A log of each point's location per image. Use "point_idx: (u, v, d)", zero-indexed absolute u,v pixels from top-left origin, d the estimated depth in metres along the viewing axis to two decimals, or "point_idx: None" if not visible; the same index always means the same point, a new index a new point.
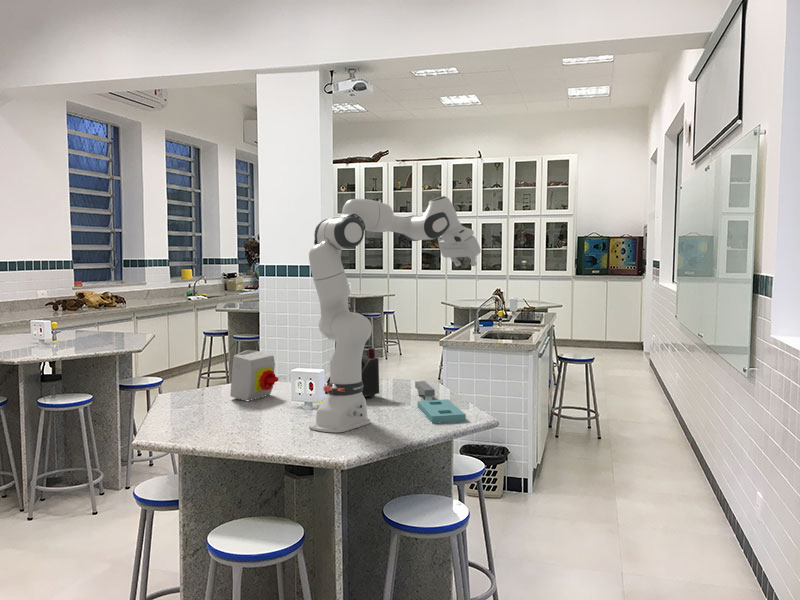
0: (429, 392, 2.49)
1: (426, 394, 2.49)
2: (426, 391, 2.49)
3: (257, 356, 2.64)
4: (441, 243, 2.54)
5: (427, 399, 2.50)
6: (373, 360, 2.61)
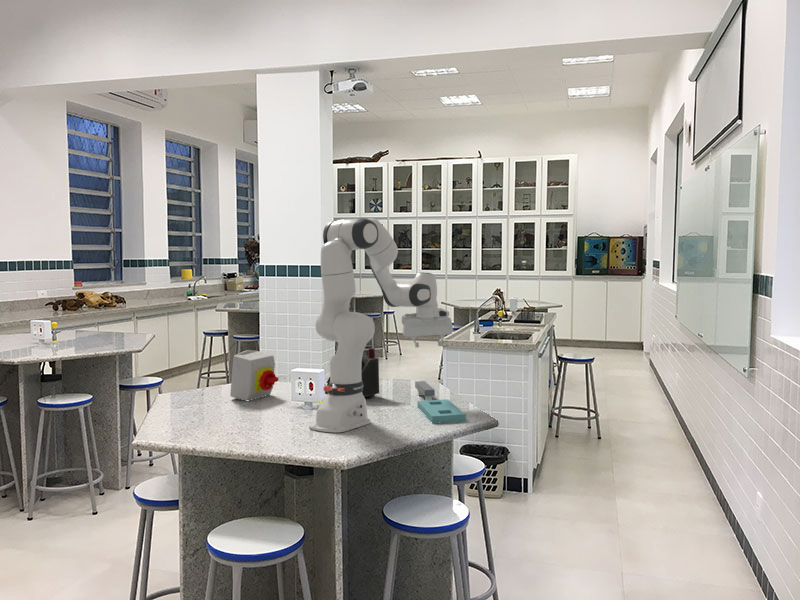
0: (429, 392, 2.49)
1: (426, 394, 2.49)
2: (426, 391, 2.49)
3: (257, 356, 2.64)
4: (410, 320, 2.54)
5: (427, 399, 2.50)
6: (373, 360, 2.61)
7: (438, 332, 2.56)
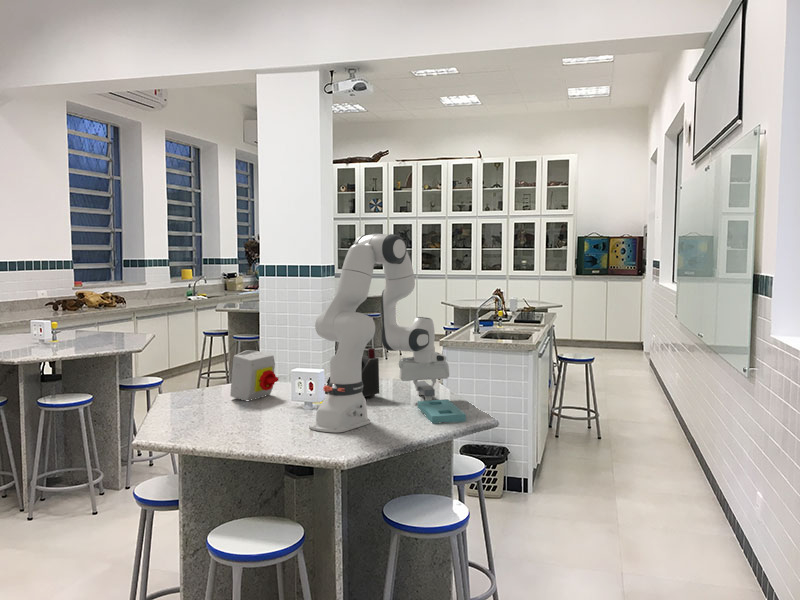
0: (429, 392, 2.49)
1: (426, 394, 2.49)
2: (426, 391, 2.49)
3: (257, 356, 2.64)
4: (407, 364, 2.54)
5: (427, 399, 2.50)
6: (373, 360, 2.61)
7: (435, 376, 2.57)
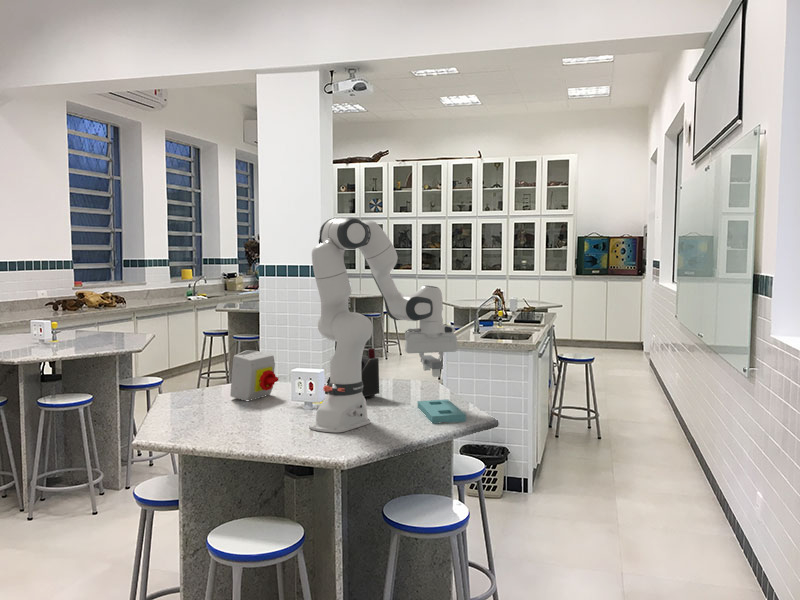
0: (437, 365, 2.34)
1: (433, 367, 2.34)
2: (434, 363, 2.34)
3: (257, 356, 2.64)
4: (414, 335, 2.39)
5: (434, 372, 2.35)
6: (373, 360, 2.61)
7: (442, 349, 2.42)
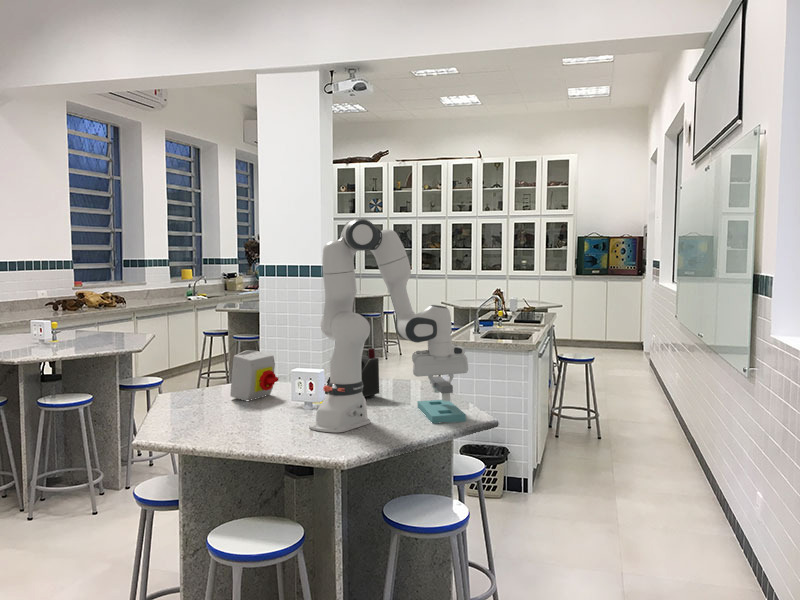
0: (447, 389, 2.23)
1: (443, 391, 2.23)
2: (443, 387, 2.23)
3: (257, 356, 2.64)
4: (422, 357, 2.28)
5: (444, 396, 2.24)
6: (373, 360, 2.61)
7: (452, 371, 2.31)
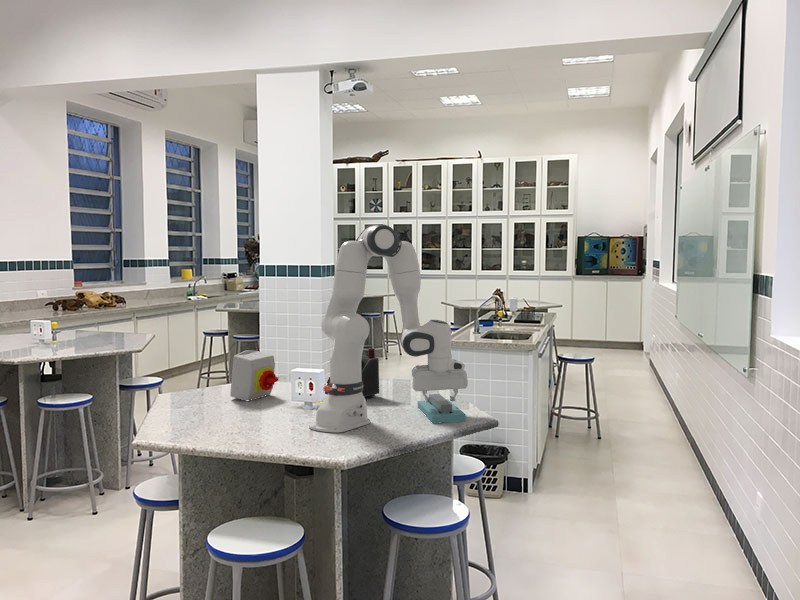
0: (446, 407, 2.24)
1: (442, 409, 2.24)
2: (442, 406, 2.23)
3: (257, 356, 2.64)
4: (421, 372, 2.29)
5: None
6: (373, 360, 2.61)
7: (452, 386, 2.31)
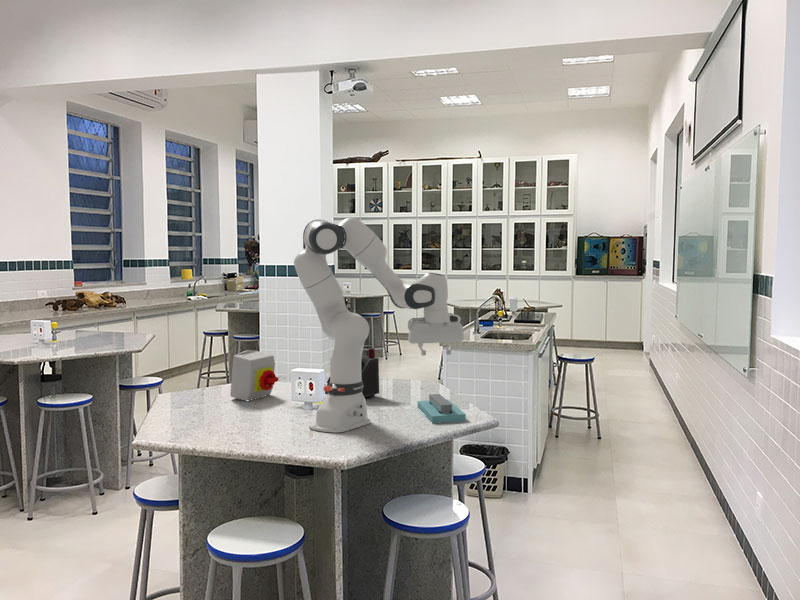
0: (446, 407, 2.24)
1: (442, 409, 2.24)
2: (442, 406, 2.24)
3: (257, 356, 2.64)
4: (417, 324, 2.29)
5: None
6: (373, 360, 2.61)
7: (447, 339, 2.32)
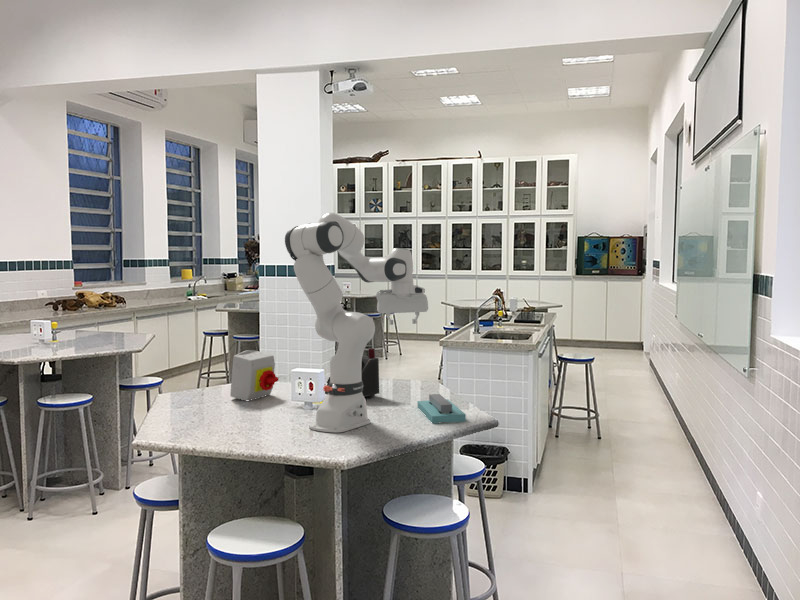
0: (446, 407, 2.24)
1: (442, 409, 2.24)
2: (442, 406, 2.24)
3: (257, 356, 2.64)
4: (385, 296, 2.48)
5: None
6: (373, 360, 2.61)
7: (413, 309, 2.51)
